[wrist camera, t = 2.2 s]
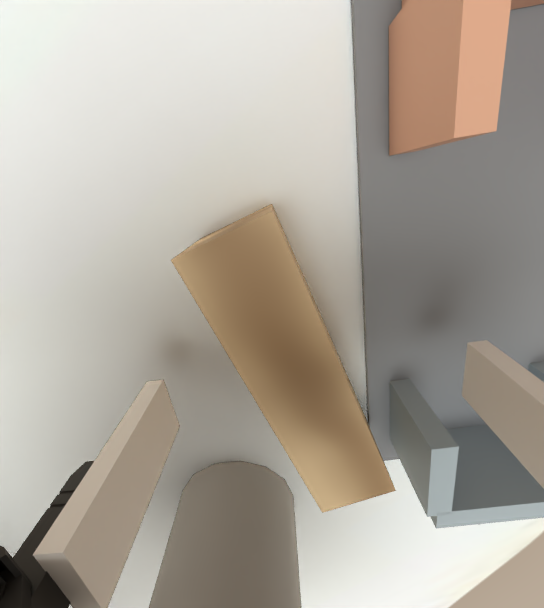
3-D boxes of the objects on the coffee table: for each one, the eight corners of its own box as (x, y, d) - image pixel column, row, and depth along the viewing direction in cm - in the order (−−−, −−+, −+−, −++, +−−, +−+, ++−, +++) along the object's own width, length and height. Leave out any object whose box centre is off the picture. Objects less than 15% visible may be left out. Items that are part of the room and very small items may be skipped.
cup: (251, 444, 20) (235, 665, 11) (313, 510, 23) (343, 736, 13) (159, 492, 22) (76, 718, 12) (226, 548, 24) (199, 771, 15)
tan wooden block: (310, 438, 20) (322, 512, 16) (201, 238, 15) (171, 260, 10) (366, 418, 20) (395, 490, 15) (271, 203, 15) (272, 211, 10)
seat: (369, 458, 21) (400, 543, 16) (349, -42, 11) (413, -228, 6) (547, 438, 20) (637, 520, 15) (687, -111, 10) (1061, -379, 5)
